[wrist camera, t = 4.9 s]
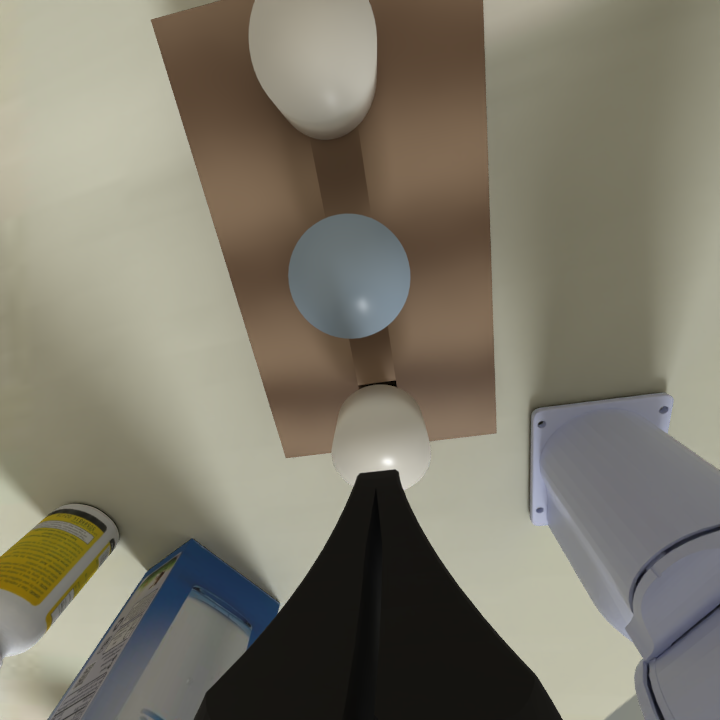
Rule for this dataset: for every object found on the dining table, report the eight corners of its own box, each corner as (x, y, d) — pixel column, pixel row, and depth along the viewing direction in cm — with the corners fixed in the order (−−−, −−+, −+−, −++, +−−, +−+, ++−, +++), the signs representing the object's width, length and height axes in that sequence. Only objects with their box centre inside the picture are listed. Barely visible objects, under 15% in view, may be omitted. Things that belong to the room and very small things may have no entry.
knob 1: (383, 140, 15) (385, 106, 11) (297, 159, 15) (268, 133, 11) (368, 27, 13) (364, -62, 9) (274, 51, 14) (231, -25, 10)
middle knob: (406, 302, 15) (416, 329, 11) (322, 316, 16) (303, 346, 12) (394, 210, 14) (402, 201, 10) (303, 227, 14) (274, 226, 10)
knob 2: (422, 429, 18) (435, 488, 14) (349, 438, 18) (342, 498, 14) (413, 362, 16) (425, 405, 12) (335, 373, 17) (322, 418, 13)
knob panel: (480, 406, 21) (496, 433, 18) (297, 429, 22) (286, 458, 19) (459, -10, 14) (480, -71, 11) (192, 58, 15) (151, 19, 12)
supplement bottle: (41, 502, 26) (-143, 652, 17) (106, 498, 25) (-47, 650, 16) (71, 552, 28) (-79, 711, 18) (131, 549, 27) (8, 710, 18)
